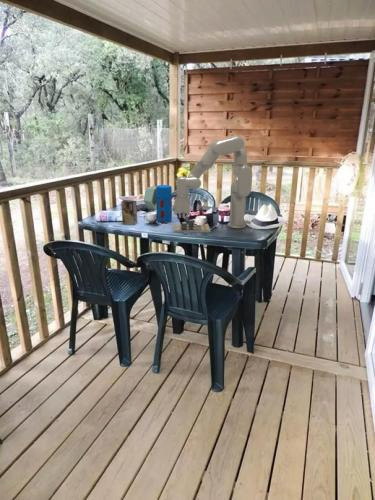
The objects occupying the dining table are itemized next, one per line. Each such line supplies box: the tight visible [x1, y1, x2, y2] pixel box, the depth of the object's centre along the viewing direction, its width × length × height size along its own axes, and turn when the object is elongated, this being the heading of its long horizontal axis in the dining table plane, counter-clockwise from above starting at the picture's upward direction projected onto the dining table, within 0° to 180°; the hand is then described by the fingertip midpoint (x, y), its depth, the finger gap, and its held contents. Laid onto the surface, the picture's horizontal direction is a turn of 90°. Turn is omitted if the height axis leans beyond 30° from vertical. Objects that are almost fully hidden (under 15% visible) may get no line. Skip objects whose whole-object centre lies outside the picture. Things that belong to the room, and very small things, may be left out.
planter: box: [143, 185, 157, 211], centre depth 285 cm, size 17×8×21 cm
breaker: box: [182, 222, 187, 229], centre depth 230 cm, size 3×2×4 cm
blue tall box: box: [156, 184, 173, 224], centre depth 250 cm, size 11×11×25 cm
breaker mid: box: [188, 219, 195, 227], centre depth 235 cm, size 3×2×4 cm
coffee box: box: [120, 199, 138, 226], centre depth 245 cm, size 9×6×16 cm
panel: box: [172, 222, 211, 234], centre depth 237 cm, size 24×16×2 cm, turn 94°
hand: (181, 223), depth 235 cm, fingers closed
